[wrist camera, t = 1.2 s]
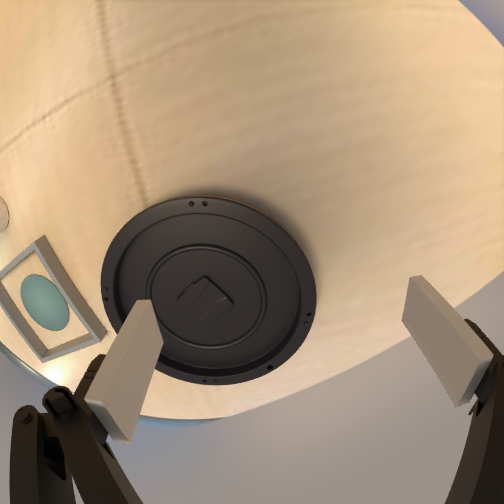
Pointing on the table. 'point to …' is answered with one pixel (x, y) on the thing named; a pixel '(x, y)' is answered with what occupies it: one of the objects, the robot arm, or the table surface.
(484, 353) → the robot arm
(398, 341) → the table surface
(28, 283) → the teal round pad
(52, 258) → the teal-dotted square tray
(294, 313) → the round tray
